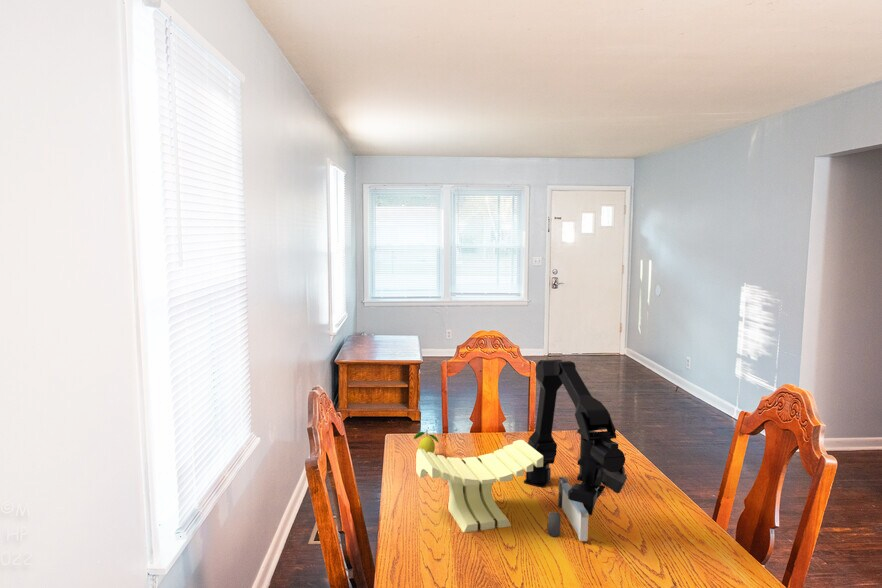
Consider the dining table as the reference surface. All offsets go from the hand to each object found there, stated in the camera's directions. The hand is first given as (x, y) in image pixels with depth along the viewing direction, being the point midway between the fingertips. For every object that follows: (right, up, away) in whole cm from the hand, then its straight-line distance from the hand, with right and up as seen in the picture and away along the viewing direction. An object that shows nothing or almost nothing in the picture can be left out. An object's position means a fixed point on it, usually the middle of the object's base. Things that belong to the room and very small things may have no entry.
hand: (589, 514), depth 145 cm
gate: (-4, -3, +3) cm, 6 cm away
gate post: (-4, -3, +13) cm, 14 cm away
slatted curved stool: (-28, -3, +8) cm, 29 cm away
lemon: (-43, 0, +47) cm, 64 cm away
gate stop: (-9, -4, -2) cm, 10 cm away
